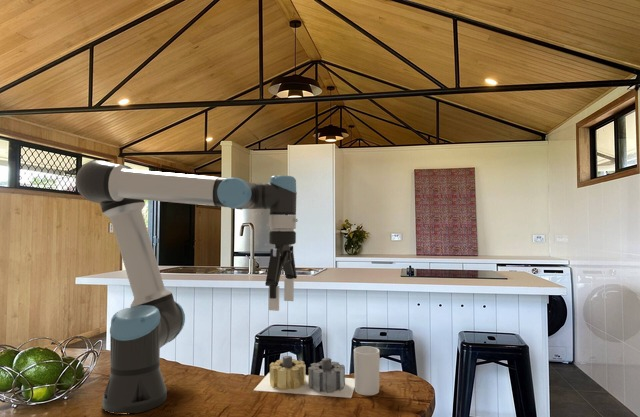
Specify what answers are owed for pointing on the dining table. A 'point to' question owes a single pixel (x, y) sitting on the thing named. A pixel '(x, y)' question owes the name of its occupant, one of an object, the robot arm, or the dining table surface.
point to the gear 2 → (326, 377)
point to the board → (305, 389)
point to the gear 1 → (287, 375)
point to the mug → (366, 370)
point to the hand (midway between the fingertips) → (281, 305)
